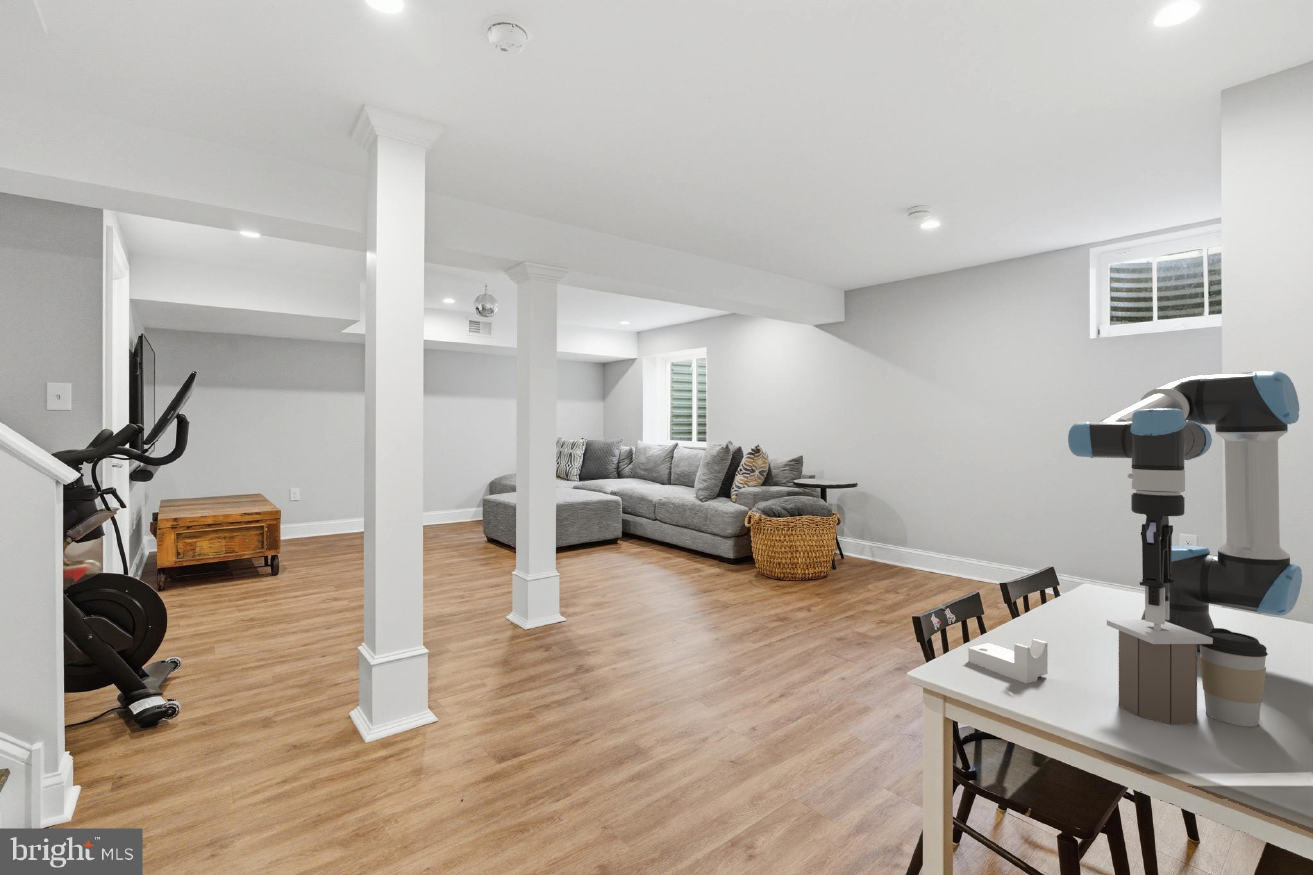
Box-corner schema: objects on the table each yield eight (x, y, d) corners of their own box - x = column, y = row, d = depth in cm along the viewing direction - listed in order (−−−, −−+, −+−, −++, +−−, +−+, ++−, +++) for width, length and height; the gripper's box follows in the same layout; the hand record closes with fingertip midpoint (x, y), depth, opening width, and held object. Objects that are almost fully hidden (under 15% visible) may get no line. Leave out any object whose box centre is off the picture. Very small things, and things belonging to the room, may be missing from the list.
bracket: (1047, 678, 126) (1047, 642, 126) (1026, 684, 123) (1026, 647, 123) (988, 658, 137) (988, 625, 137) (968, 663, 134) (968, 629, 134)
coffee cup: (1282, 731, 102) (1282, 643, 102) (1220, 726, 104) (1220, 640, 104) (1242, 708, 111) (1242, 627, 111) (1185, 704, 113) (1185, 624, 113)
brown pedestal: (1160, 697, 116) (1160, 619, 116) (1213, 723, 105) (1213, 638, 105) (1105, 697, 116) (1105, 619, 116) (1153, 724, 105) (1153, 638, 105)
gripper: (1141, 488, 119) (1141, 607, 119) (1121, 494, 108) (1120, 624, 108) (1192, 491, 113) (1191, 616, 113) (1175, 497, 102) (1175, 634, 102)
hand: (1157, 620), depth 111 cm, fingers closed on plunger, 3 cm apart
